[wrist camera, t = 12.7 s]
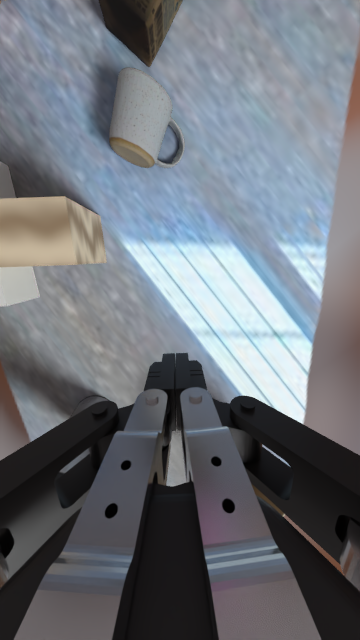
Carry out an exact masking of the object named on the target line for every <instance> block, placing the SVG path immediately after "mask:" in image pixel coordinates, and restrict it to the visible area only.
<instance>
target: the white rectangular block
mask: <svg viewBox="0 0 360 640" xmlns="http://www.w3.org/2000/svg"><path fill="white" fill-rule="evenodd" d="M4 198H16V195H15V191H14V187H13V183H12V179H11V175H10V171H9V166H8V165H6V164H4V163H2V162H0V199H4ZM38 297H40V295H39V291H38V287H37V283H36V279H35V274H34V270H33V266H25V267H0V306H10V305H13V304H17V303H20V302H24V301H28V300H31V299H35V298H38Z"/></svg>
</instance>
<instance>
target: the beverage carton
mask: <svg viewBox="0 0 360 640" xmlns="http://www.w3.org/2000/svg"><path fill="white" fill-rule="evenodd" d="M182 1H183V0H99V3H100V6H101V10H102V13H103V17H104V21H105V24H106V27H107V28H108V29H109V30H110V31H111V32H112V33H113V34H114V35H115V36H116V37H118V38H119V39H120V40H121V41H122V42H123V43H124V44H125V45H126V46H127V47H128V48H129V49H130V50H131V51H132V52H133V53H134V54H136V55H137V56H138V57H139V58H140V59H141V60H142V61H143V62H144V63H145V64H146V65H147V66H148V67H150V66H151V64H152V62H153V60H154V58H155V56H156V54H157V52H158V50H159V48H160V46H161V44H162V42H163V40H164V38H165V36H166V34H167V32H168V30H169V28H170V26H171V24H172V22H173V19H174V17H175V15H176V13H177V11H178V9H179V7H180V5H181V3H182Z"/></svg>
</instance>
